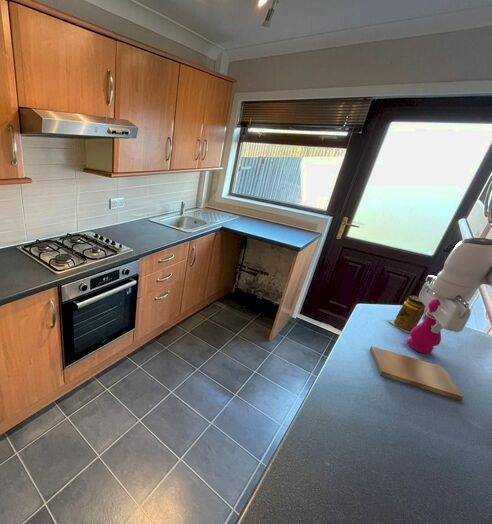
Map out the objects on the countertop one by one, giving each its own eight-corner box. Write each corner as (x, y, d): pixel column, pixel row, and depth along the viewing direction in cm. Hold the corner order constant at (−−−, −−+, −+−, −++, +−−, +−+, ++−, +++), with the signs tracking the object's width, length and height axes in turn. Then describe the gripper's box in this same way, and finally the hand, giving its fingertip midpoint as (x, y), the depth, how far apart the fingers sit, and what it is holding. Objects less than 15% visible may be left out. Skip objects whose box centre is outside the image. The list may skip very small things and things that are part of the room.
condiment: (387, 320, 107) (401, 294, 102) (405, 319, 108) (420, 293, 103) (406, 333, 101) (422, 305, 95) (425, 332, 102) (442, 304, 97)
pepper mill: (405, 337, 98) (432, 287, 90) (433, 347, 94) (464, 296, 85) (403, 346, 94) (431, 295, 85) (433, 358, 89) (465, 305, 81)
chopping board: (440, 370, 85) (443, 366, 84) (460, 400, 75) (463, 396, 74) (369, 349, 91) (371, 345, 91) (379, 375, 81) (381, 371, 81)
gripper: (486, 309, 75) (458, 349, 80) (449, 278, 91) (428, 312, 97) (455, 302, 77) (430, 342, 83) (425, 273, 94) (406, 307, 100)
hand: (429, 326), depth 90 cm, fingers closed on pepper mill, 5 cm apart
